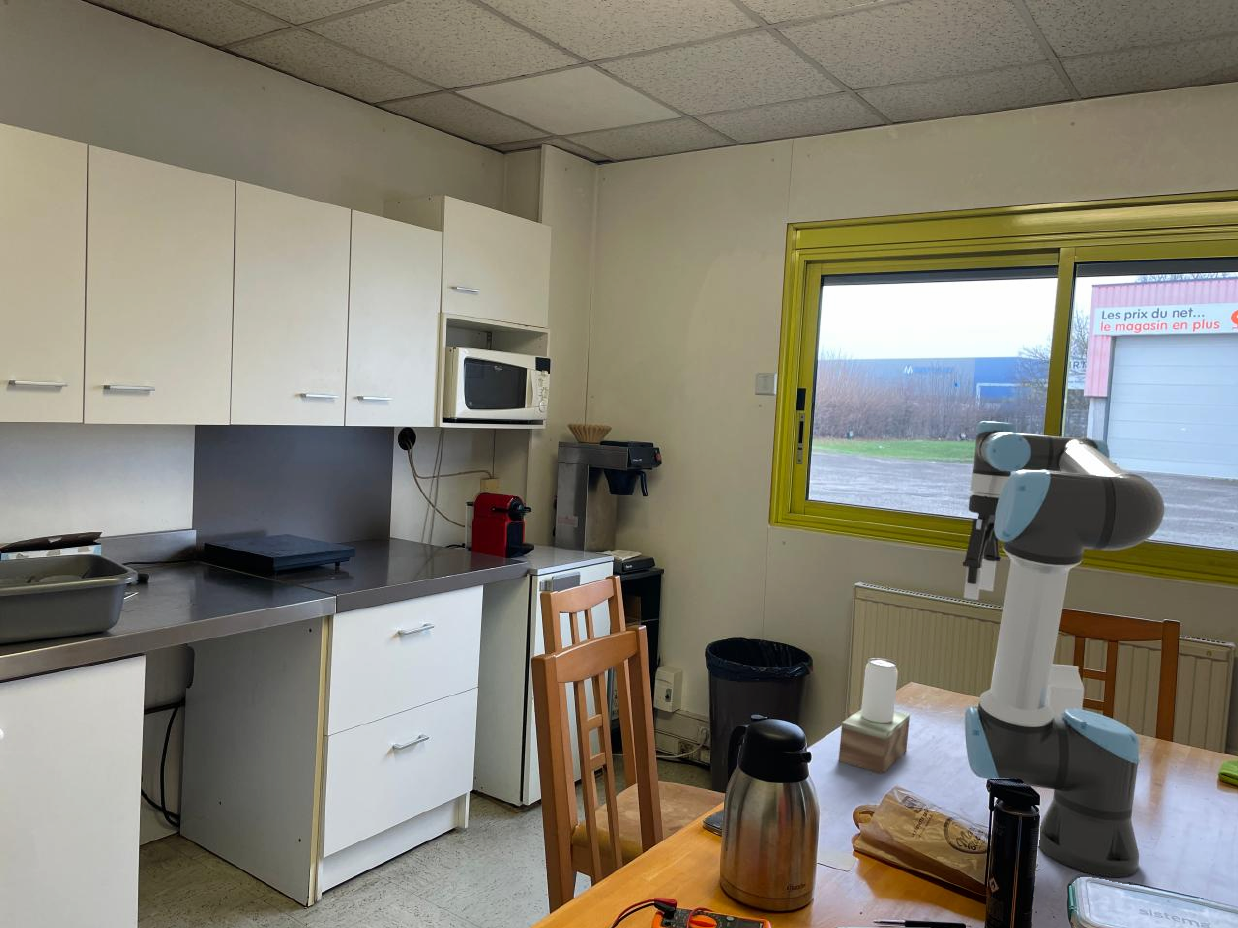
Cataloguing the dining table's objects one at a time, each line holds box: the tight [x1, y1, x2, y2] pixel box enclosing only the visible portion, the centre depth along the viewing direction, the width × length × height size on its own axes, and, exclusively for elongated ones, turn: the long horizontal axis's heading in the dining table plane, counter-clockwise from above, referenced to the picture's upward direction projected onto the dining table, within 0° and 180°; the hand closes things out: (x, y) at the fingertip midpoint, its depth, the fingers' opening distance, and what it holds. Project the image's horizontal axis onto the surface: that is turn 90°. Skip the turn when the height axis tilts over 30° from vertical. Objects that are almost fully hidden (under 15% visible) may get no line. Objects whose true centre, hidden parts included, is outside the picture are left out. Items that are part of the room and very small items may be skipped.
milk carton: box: [1046, 664, 1085, 718], centre depth 200 cm, size 7×7×19 cm
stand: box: [838, 709, 911, 774], centre depth 188 cm, size 16×9×8 cm, turn 145°
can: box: [860, 657, 899, 724], centre depth 187 cm, size 6×6×12 cm
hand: (978, 594), depth 191 cm, fingers open, 13 cm apart
